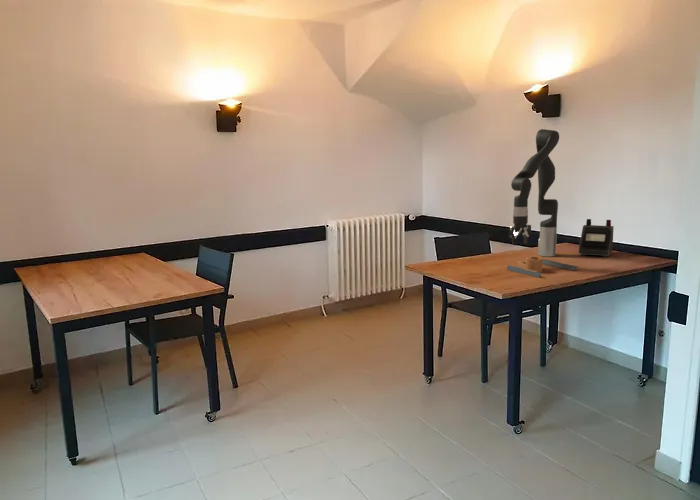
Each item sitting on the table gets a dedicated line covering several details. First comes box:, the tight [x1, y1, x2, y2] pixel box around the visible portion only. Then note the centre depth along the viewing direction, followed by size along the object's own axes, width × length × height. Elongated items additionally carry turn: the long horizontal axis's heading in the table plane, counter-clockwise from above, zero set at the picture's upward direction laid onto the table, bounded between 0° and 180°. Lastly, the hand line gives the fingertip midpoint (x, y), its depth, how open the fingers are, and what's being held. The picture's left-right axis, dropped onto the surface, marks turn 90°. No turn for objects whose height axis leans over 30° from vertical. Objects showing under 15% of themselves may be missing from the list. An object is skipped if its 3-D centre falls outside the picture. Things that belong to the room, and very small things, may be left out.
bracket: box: [516, 256, 544, 273], centre depth 293 cm, size 18×8×7 cm, turn 11°
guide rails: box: [506, 258, 578, 278], centre depth 289 cm, size 22×27×3 cm
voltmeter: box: [578, 218, 614, 259], centre depth 323 cm, size 16×16×20 cm
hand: (519, 244), depth 301 cm, fingers open, 8 cm apart
